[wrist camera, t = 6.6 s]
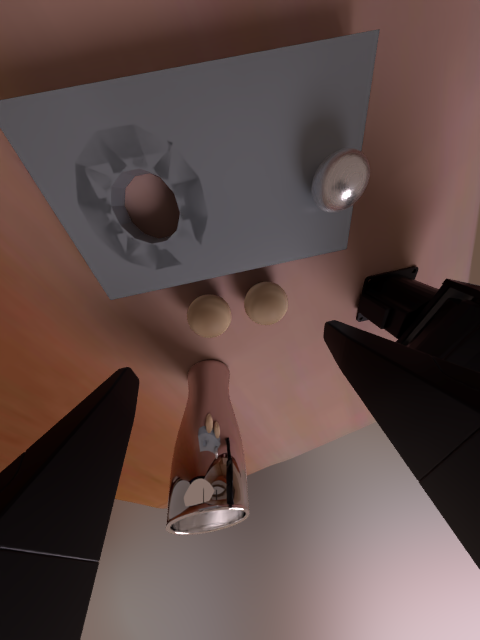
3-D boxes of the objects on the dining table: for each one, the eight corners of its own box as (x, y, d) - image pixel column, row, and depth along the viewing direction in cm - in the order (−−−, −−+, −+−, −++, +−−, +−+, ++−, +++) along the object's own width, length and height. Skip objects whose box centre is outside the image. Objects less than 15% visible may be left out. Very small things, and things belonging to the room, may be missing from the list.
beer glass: (173, 372, 26) (141, 533, 13) (214, 349, 25) (220, 502, 12) (204, 395, 29) (201, 538, 17) (241, 375, 28) (266, 514, 16)
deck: (350, 58, 12) (379, 29, 10) (331, 243, 19) (346, 248, 17) (23, 120, 12) (-16, 103, 10) (121, 289, 19) (110, 300, 16)
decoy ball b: (224, 283, 20) (228, 302, 16) (232, 317, 22) (237, 341, 19) (183, 292, 20) (177, 313, 16) (196, 325, 22) (193, 351, 18)
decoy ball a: (278, 271, 20) (294, 287, 16) (280, 307, 22) (294, 328, 19) (238, 280, 20) (245, 298, 16) (244, 315, 22) (251, 338, 19)
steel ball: (334, 142, 10) (307, 154, 13) (321, 215, 12) (300, 212, 15) (394, 140, 10) (354, 153, 13) (372, 212, 12) (341, 210, 15)
